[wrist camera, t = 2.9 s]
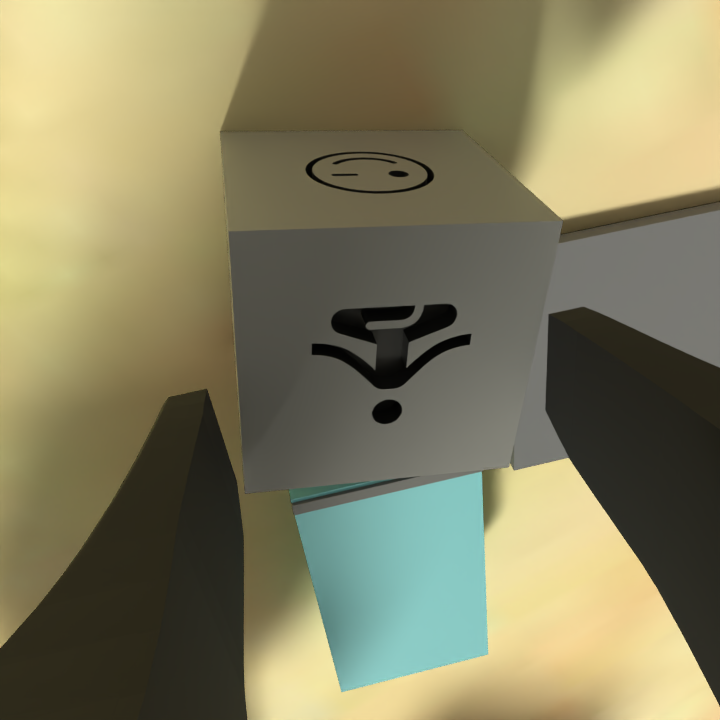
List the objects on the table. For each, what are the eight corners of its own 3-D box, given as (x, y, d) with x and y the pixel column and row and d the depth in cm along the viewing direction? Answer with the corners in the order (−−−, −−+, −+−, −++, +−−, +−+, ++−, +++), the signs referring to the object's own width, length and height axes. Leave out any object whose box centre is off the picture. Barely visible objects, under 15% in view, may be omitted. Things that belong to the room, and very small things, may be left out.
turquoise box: (460, 571, 23) (492, 656, 20) (325, 604, 22) (342, 695, 20) (446, 379, 18) (487, 457, 16) (277, 416, 18) (290, 503, 15)
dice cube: (462, 129, 15) (563, 220, 10) (436, 332, 17) (508, 467, 13) (220, 130, 14) (228, 231, 10) (234, 344, 16) (245, 493, 12)
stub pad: (730, 409, 21) (739, 417, 20) (508, 461, 20) (514, 470, 20) (783, 188, 17) (795, 194, 16) (509, 245, 16) (515, 252, 16)
